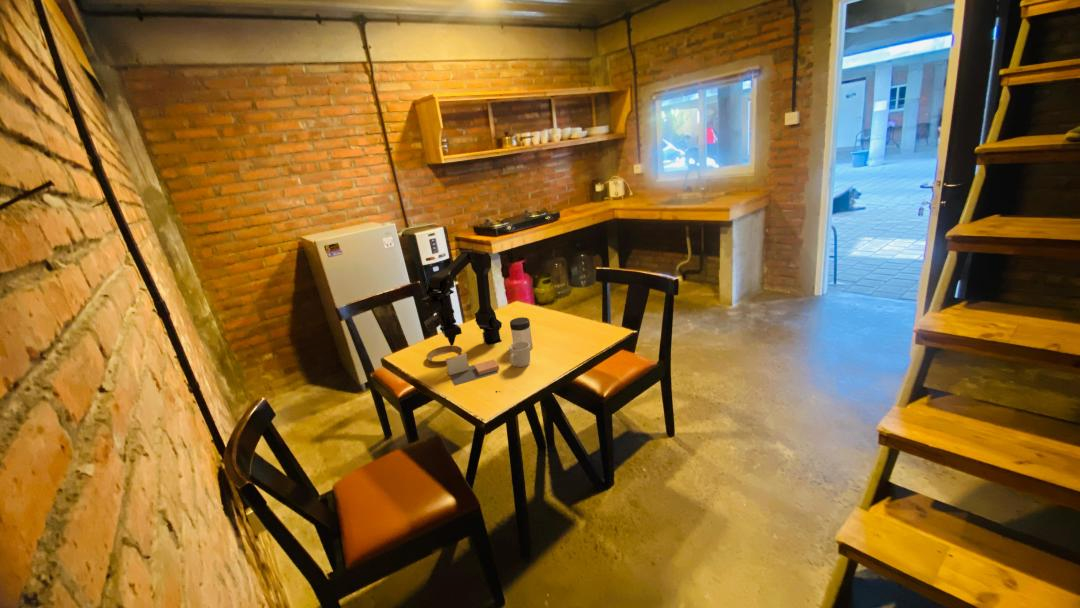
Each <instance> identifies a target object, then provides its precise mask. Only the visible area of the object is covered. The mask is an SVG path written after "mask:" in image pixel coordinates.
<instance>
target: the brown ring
mask: <svg viewBox="0 0 1080 608" xmlns="http://www.w3.org/2000/svg"><path fill="white" fill-rule="evenodd" d="M462 352H463V349H462V347H460V346H458V345H452V346H451V345H443V346H440V347H436V348H434V349H432V350H431V351H429V352H428V353H427V354H426V355H425V356H426V359H427V360H428V361H429V362H431V363H433V364H435V365H444V364H446V359H445V360H439V361H437V360H433V358H435V357H439V356H441V355H442V356H443V355H446V354H450V353H457V354H458V355H462V354H463V353H462Z"/></svg>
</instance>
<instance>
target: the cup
mask: <svg viewBox="0 0 1080 608" xmlns="http://www.w3.org/2000/svg"><path fill="white" fill-rule="evenodd" d="M508 349H509V353H510V355H509V363H510V364H511V366H515V367H517V368H524V367H527V366H529V364H530V363H531V349H530V344H529V343H528V342H523V341H521V342H515V343H513V342H512V343H510V345H509V346H508Z"/></svg>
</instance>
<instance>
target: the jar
mask: <svg viewBox="0 0 1080 608" xmlns="http://www.w3.org/2000/svg"><path fill="white" fill-rule="evenodd" d="M530 323H531V321H530V319H529V318H528V317H524V316H523V317H515V318H513V319H511V320H510V321H509V326H510V332H511V338H512V344H513V343H515V342H521V341H523V342H528V343H529V344H530V350H531V349H533V348H534V345H533V338H532V331H531V330H532V329H531V324H530Z"/></svg>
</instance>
